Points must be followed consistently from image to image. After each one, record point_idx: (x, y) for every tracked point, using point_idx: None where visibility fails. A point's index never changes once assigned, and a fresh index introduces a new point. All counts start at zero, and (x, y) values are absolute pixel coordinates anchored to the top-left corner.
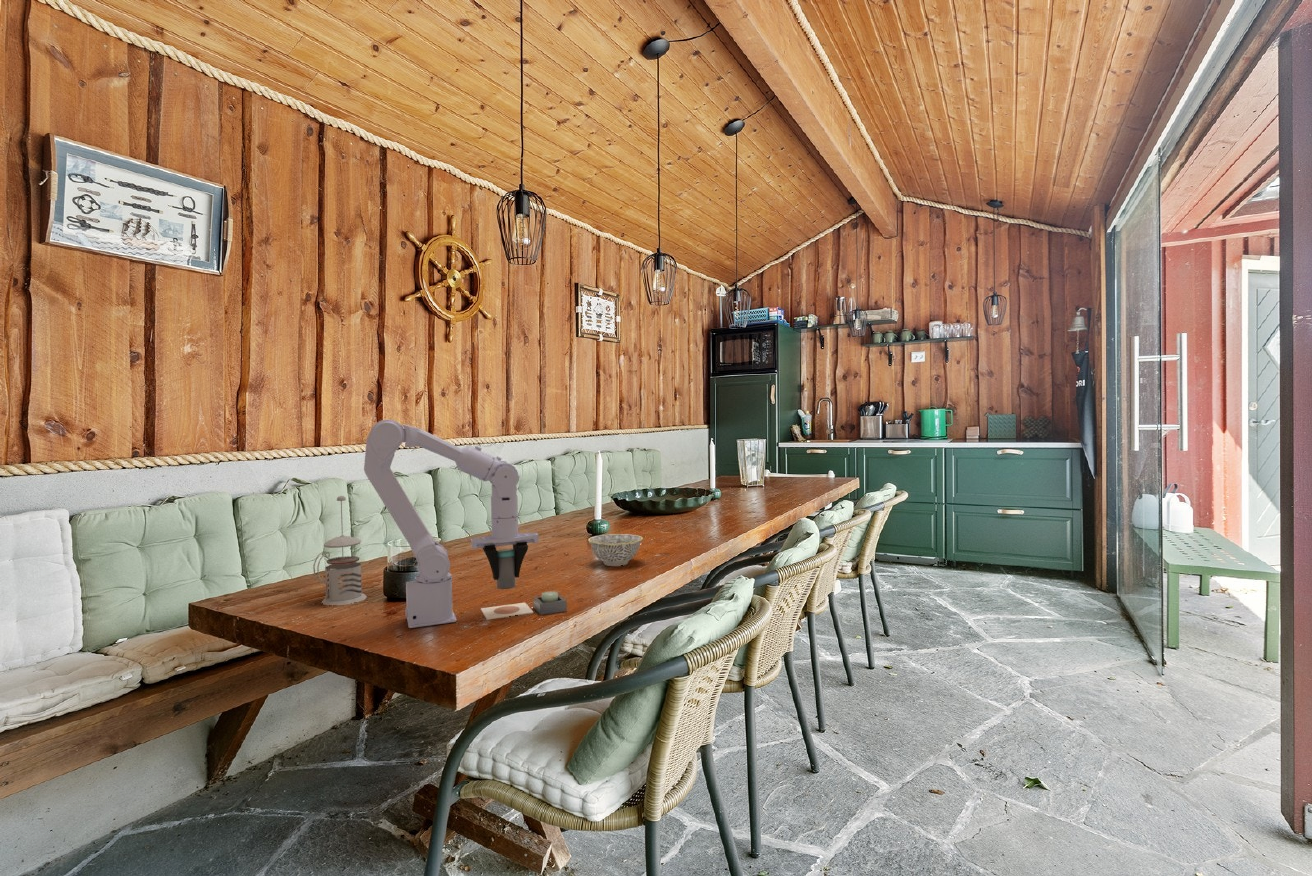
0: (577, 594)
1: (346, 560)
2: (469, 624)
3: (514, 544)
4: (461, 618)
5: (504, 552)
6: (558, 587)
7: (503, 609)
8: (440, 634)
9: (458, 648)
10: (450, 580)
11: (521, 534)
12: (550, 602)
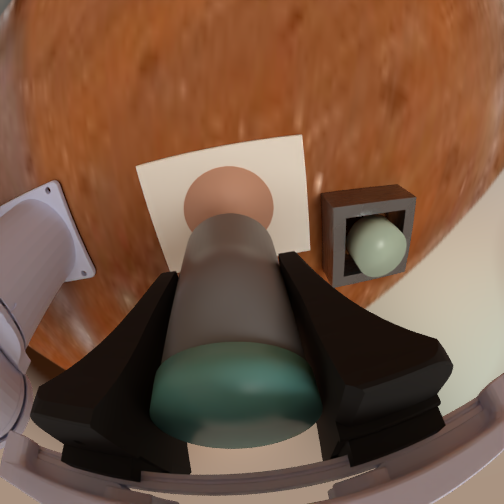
0: (457, 107)
1: None
2: (133, 291)
3: (340, 441)
4: (98, 240)
5: (231, 446)
6: (423, 2)
7: (217, 202)
8: (95, 328)
9: None
10: (25, 330)
11: (456, 479)
12: (364, 279)
